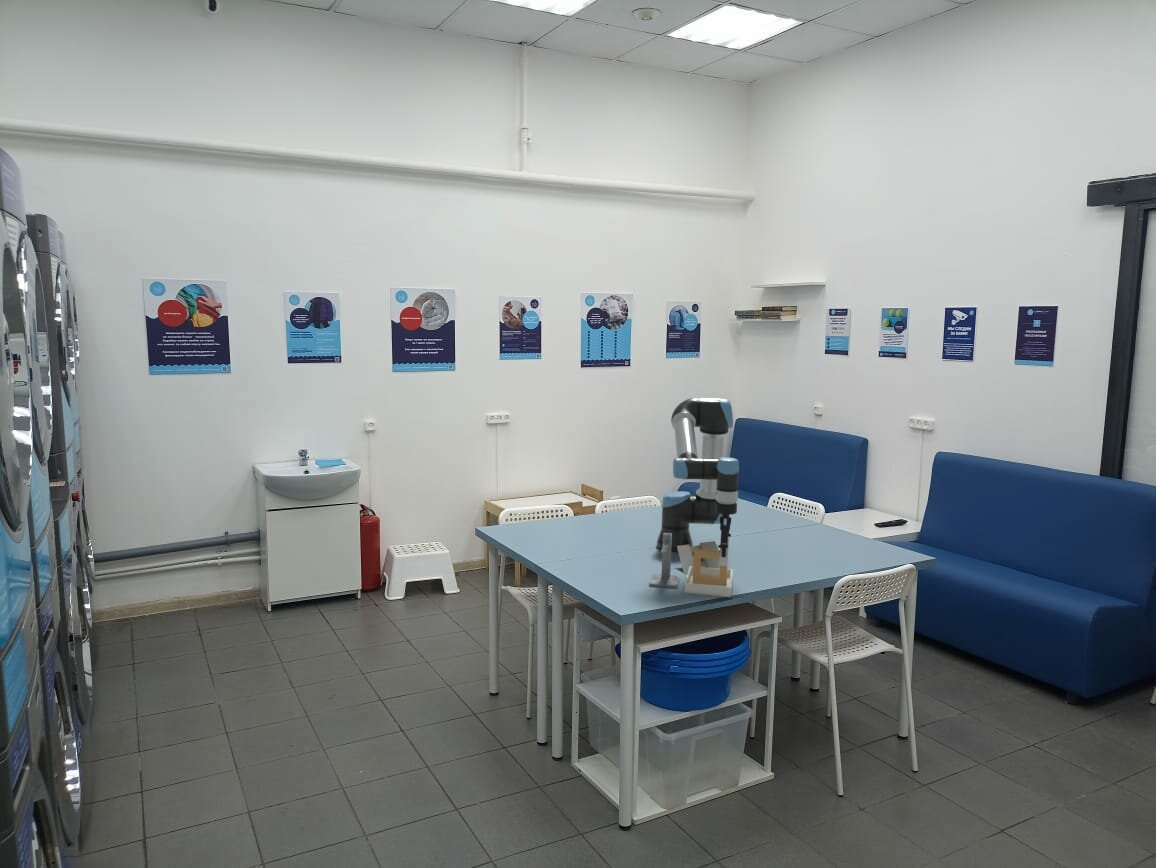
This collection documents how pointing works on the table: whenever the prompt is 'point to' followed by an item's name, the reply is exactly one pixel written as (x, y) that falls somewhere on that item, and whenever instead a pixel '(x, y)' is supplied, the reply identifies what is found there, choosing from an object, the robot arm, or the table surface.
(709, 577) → the picture frame
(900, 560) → the table surface
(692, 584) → the tray
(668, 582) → the hook stand
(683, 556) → the grey angular piece
